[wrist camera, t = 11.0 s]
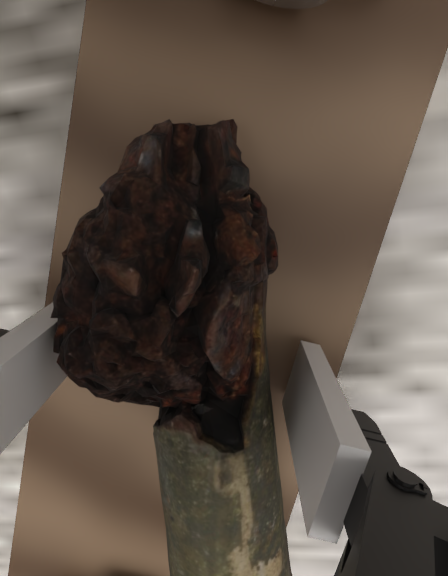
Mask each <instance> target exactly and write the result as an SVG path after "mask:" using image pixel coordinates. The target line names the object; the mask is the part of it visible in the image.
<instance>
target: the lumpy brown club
mask: <svg viewBox="0 0 448 576" xmlns="http://www.w3.org/2000/svg"><path fill="white" fill-rule="evenodd" d="M237 128H238V127H237V125H236V123H235V121H234V119H230V120H226V121H225V120H222V121H219V122H217V123H216V124H212V125H209V124H207V125H195V124H191V123H177V124H174V123H172V122H171V120H170V119H168V120H166V121H164V122H162V123H158V124H154V126H153V127H152V129H151V130H150V131H149V132H147V133H145V134H144V135H140V136H138V137H136V138H135V139H134V140H133V141H132V142H131V143H130V144H129V145H128V146H127V147H126V150H125V153H124V156H123V159H122V161H121V164H120V166H119V169H118V171H117V173H115V174H114V175H112V176H111V177H109V178H108V179H107V180H106V181H105V182H104V183H103V184H102V185H101V186H100V187H99V189H100V190H101V191H102V193H103V194H104V195H103V197H102V198H101V199H100V202H99V205H98V206H97V207H96V208H95V209H93V210H91V211H89V212H87V213H86V214H85V215H83V216H82V217H81V218H79V221H78V223H77V225H76V227H75V230H74V232H73V234H72V237H71V239H70V241H69V243H68V246H67V248H66V250H65V251H63V252H62V256H63V264H62V272H61V280H60V283H59V284H58V286H57V288H56V291H55V293H54V296H53V307H54V308H53V311H52V314H51V317H50V318H58V321H57V330H56V333H55V335H54V347H53V352H55V353H58V354H59V356H58V359H57V364H58V365H59V366H60V368H61V369H62V370H63V372H64V373H65V374H66V375H67V376H68V377H69V378H70V379H71V380H72V381H73V382H74V383H75V384H77V385H78V386H79V387H82V388H87V389H88V390H89V391H90V392H91V393H92V394H93V395H94V396H95V397H97V398H102V399H106V400H110V401H112V402H117V403H119V402H128V403H134V404H140V405H149V406H155V407H159V416H158V420H156V422H155V424H154V425H153V429H154V432H153V436H154V442H155V448H156V456H157V465H158V473H159V482H160V491H161V498H162V505H163V512H164V519H165V526H166V537H167V550H168V562H169V571H170V576H292V573H291V567H290V560H289V552H288V543H287V533H286V526H285V520H284V511H283V497H282V488H281V480H280V472H279V463H278V454H277V445H276V435H275V426H274V416H273V406H272V397H271V390H270V370H269V360H268V350H267V340H266V298H267V284H268V278H269V277H268V275H270V274H272V273H274V272H275V271H276V269H277V267H278V245H277V240H276V236H275V232H274V231H273V230H272V229H271V227H270V225H269V221H268V217H267V208H266V206H265V205H264V204H263V203H262V201H261V198H260V196H259V195H258V193H257V192H255V191H254V190H253V189H252V188H251V187H249V183H250V174H249V168H248V167H247V166H246V165H245V164H244V163H243V162H242V159H241V153H242V152H241V151H240V149H239V148H238V146H237V144H236V143H237Z"/></svg>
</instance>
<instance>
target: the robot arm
mask: <svg viewBox="0 0 448 576" xmlns="http://www.w3.org/2000/svg"><path fill="white" fill-rule="evenodd" d="M53 308H54V307H53V302H52V303H51V304H49V305H48V306H46V307H45V308H43V309H42V310H40V311H39V312H37V313H36V314H34V315H33V316H31V317H30V318H28V319H27V320H25V321H24V322H22V323H21V324H19V325H18V326H16V327H15V328H13V329H12V330H10V331H8V330H4V329H0V454H1V453H2V452H3V450H4V449H5V448H6V447H7V446H8V445H9V443H10V442H11V441H12V440H13V439H14V438H15V437H16V435H17V434H18V433H19V432H20V431H21V430H22V428H23V427H24V426H25V425H26V424H27V423H28V421H29V420H30V419H31V418H32V417H33V416H34V414H35V413H36V412H37V411H38V410H39V409H40V407H41V406H42V405H43V404H44V403H45V402H46V400H47V399H48V398H49V397H50V396H51V395H52V394H53V392H54V391H55V390H56V389H57V388H58V387H59V385H60V384H61V383H62V382H63V381H64V380H65V378H66V377H67V375H66V374H65V373H64V372H63V370H62V369H61V368H60V366H59V365H58V364H57V359H58V356H59V354H58V353H55V352H53V347H54V335H55V333H56V330H57V321H58V318H50V317H51V314H52V311H53ZM282 406H283V411H284V416H285V422H286V427H287V432H288V437H289V443H290V448H291V453H292V458H293V464H294V469H295V474H296V479H297V485H298V490H299V495H300V500H301V506H302V511H303V516H304V521H305V527H306V532H307V537H310V538H314V539H319V540H323V541H328V542H332V543H337V542H338V539H339V536H340V534H341V531H342V528H343V526H344V525H345V529H346V532H347V535H348V541H347V544H346V546H345V549H344V551H343V554H342V557H341V559H340V562H339V564H338V567H337V570H336V572H335V575H334V576H448V507H446V506H444V505H442V504H439V503H437V502H435V501H433V500H432V494H431V491H430V488H429V487H428V486H427V485H426V483H425V482H424V481H423V480H422V479H421V478H419V477H418V476H417V475H416V474H414V473H412V472H411V471H409V470H407V469H405V468H403V467H400V466H399V464H398V462H397V460H396V458H395V457H394V455H393V453H392V451H391V450H390V448H389V446H388V444H386V441H385V439H384V437H383V435H381V434H382V433H381V432H380V430H379V428H378V426H377V424H376V423H375V422H374V421H373V420H372V419H371V418H370V417H369V416H368V415H367V414H366V413H364V412H361V411H356V410H352V409H351V408H350V406H349V404H348V402H347V400H346V398H345V396H344V394H343V391H342V389H341V387H340V385H339V383H338V381H337V379H336V377H335V375H334V373H333V371H332V369H331V367H330V365H329V363H328V361H327V358H326V356H325V354H324V352H323V350H322V348H321V346H320V345H318V344H314V343H310V342H306V341H302V340H301V341H300V345H299V348H298V351H297V354H296V358H295V361H294V364H293V367H292V371H291V374H290V377H289V381H288V384H287V387H286V390H285V394H284V397H283V400H282Z"/></svg>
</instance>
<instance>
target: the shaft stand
mask: <svg viewBox="0 0 448 576" xmlns="http://www.w3.org/2000/svg"><path fill="white" fill-rule="evenodd" d="M447 48H448V0H86V8H85V15H84V22H83V30H82V37H81V44H80V52H79V59H78V66H77V74H76V81H75V88H74V96H73V103H72V110H71V118H70V125H69V132H68V140H67V147H66V154H65V162H64V169H63V176H62V184H61V191H60V198H59V206H58V213H57V220H56V228H55V235H54V242H53V250H52V257H51V264H50V272H49V279H48V286H47V294H46V301H45V307H46V306H48V305H49V304H51V303H52V302H53V296H54V293H55V291H56V288H57V286H58V284H59V283H60V280H61V272H62V264H63V256H62V252H63V251H65V250H66V248H67V246H68V243H69V241H70V239H71V237H72V234H73V232H74V230H75V227H76V225H77V223H78V221H79V218H81V217H82V216H83V215H85V214H86V213H87V212H89V211H91V210H93V209H95V208H96V207H97V206H98V205H99V202H100V199H101V198H102V197H103V195H104V194H103V193H102V191H101V190H100V189H99V187H100V186H101V185H102V184H103V183H104V182H105V181H106V180H107V179H108V178H109V177H111V176H112V175H114V174H115V173H117V171H118V169H119V166H120V164H121V161H122V159H123V156H124V153H125V150H126V147H127V146H128V145H129V144H130V143H131V142H132V141H133V140H134V139H135V138H136V137H138V136H140V135H144V134H145V133H147V132H149V131H150V130H151V129H152V127H153V126H154V124H158V123H162V122H164V121H166V120H168V119H170V120H171V122H172V123H174V124H177V123H191V124H195V125H207V124H209V125H212V124H216V123H217V122H219V121H222V120H225V121H226V120H230V119H234V121H235V123H236V125H237V127H238V128H237V143H236V144H237V146H238V148H239V149H240V151H241V152H242V153H241V159H242V162H243V163H244V164H245V165H246V166H247V167H248V168H249V174H250V183H249V187H251V188H252V189H253V190H254V191H255V192H257V193H258V195H259V196H260V198H261V201H262V203H263V204H264V205H265V206H266V208H267V217H268V221H269V225H270V227H271V229H272V230H273V231H274V232H275V236H276V240H277V245H278V267H277V269H276V271H275V272H274V273H272V274H270V275H268V277H269V278H268V284H267V298H266V340H267V350H268V360H269V370H270V390H271V397H272V406H273V416H274V426H275V435H276V445H277V454H278V463H279V472H280V480H281V488H282V497H283V511H284V520H285V526H286V527H287V524H288V521H289V518H290V515H291V512H292V509H293V506H294V503H295V500H296V497H297V494H298V491H299V490H298V485H297V479H296V474H295V469H294V464H293V458H292V453H291V448H290V443H289V437H288V432H287V427H286V422H285V416H284V411H283V406H282V400H283V397H284V394H285V390H286V387H287V384H288V381H289V377H290V374H291V371H292V367H293V364H294V361H295V358H296V354H297V351H298V348H299V345H300V341H301V340H302V341H306V342H310V343H314V344H318V345H320V346H321V348H322V350H323V352H324V354H325V356H326V358H327V361H328V363H329V365H330V367H331V369H332V371H333V373H334V375H335V377H336V378H337V375H338V372H339V369H340V366H341V363H342V360H343V357H344V354H345V351H346V348H347V345H348V342H349V339H350V336H351V333H352V330H353V327H354V324H355V321H356V318H357V315H358V312H359V309H360V306H361V304H362V301H363V298H364V295H365V292H366V289H367V286H368V283H369V280H370V277H371V274H372V271H373V268H374V265H375V262H376V259H377V256H378V253H379V250H380V247H381V244H382V241H383V238H384V235H385V232H386V229H387V226H388V223H389V220H390V217H391V214H392V211H393V208H394V205H395V202H396V199H397V196H398V193H399V190H400V187H401V184H402V182H403V179H404V176H405V173H406V170H407V167H408V164H409V161H410V158H411V155H412V152H413V149H414V146H415V143H416V140H417V137H418V134H419V131H420V128H421V125H422V122H423V119H424V116H425V113H426V110H427V107H428V104H429V101H430V98H431V95H432V92H433V89H434V86H435V83H436V80H437V77H438V74H439V71H440V68H441V65H442V63H443V60H444V57H445V54H446V51H447ZM158 416H159V407H155V406H149V405H140V404H134V403H128V402H119V403H117V402H112V401H110V400H106V399H102V398H97V397H95V396H94V395H93V394H92V393H91V392H90V391H89V390H88V389H87V388H82V387H79V386H78V385H77V384H75V383H74V382H73V381H72V380H71V379H70V378H69V377H68V376H67V377H66V378H65V380H64V381H63V382H62V383H61V384H60V385H59V387H58V388H57V389H56V390H55V391H54V392H53V394H52V395H51V396H50V397H49V398H48V399H47V400H46V402H45V403H44V404H43V405H42V406H41V407H40V409H39V410H38V411H37V412H36V413H35V414H34V416H33V417H32V418H31V419H30V420H29V426H28V433H27V440H26V448H25V455H24V462H23V470H22V477H21V484H20V492H19V499H18V506H17V514H16V521H15V528H14V536H13V543H12V550H11V558H10V565H9V572H8V576H170V571H169V562H168V550H167V537H166V526H165V519H164V512H163V505H162V498H161V491H160V482H159V473H158V465H157V456H156V448H155V442H154V436H153V432H154V429H153V425H154V424H155V422H156V420H158Z"/></svg>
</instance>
